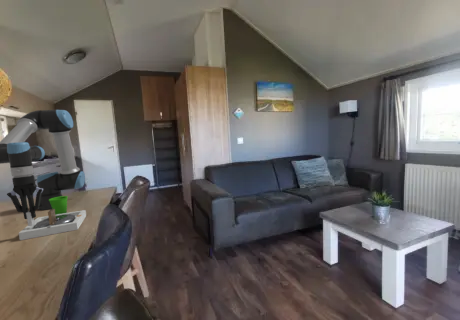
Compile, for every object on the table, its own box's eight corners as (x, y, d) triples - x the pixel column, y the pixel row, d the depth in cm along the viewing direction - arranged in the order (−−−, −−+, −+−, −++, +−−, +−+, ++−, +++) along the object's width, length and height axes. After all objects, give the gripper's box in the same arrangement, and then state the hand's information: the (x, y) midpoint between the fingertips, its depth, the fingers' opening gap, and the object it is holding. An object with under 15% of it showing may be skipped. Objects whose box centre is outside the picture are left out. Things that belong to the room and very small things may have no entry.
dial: (43, 221, 119) (40, 206, 118) (78, 215, 125) (76, 201, 124) (30, 232, 104) (27, 215, 103) (71, 225, 110) (68, 209, 109)
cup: (60, 219, 126) (57, 200, 124) (47, 219, 127) (44, 200, 126) (74, 213, 134) (71, 195, 133) (61, 213, 136) (59, 195, 135)
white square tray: (38, 223, 120) (37, 216, 120) (86, 215, 129) (85, 209, 129) (19, 240, 100) (18, 232, 100) (77, 229, 109) (76, 221, 108)
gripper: (0, 179, 97) (9, 231, 99) (37, 175, 102) (45, 224, 104) (9, 176, 103) (17, 225, 106) (43, 173, 108) (51, 219, 111)
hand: (31, 224), depth 105 cm, fingers closed
